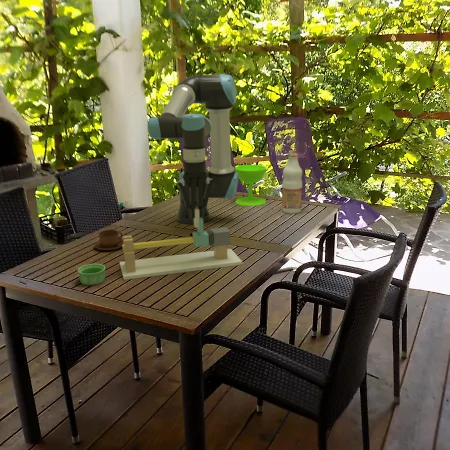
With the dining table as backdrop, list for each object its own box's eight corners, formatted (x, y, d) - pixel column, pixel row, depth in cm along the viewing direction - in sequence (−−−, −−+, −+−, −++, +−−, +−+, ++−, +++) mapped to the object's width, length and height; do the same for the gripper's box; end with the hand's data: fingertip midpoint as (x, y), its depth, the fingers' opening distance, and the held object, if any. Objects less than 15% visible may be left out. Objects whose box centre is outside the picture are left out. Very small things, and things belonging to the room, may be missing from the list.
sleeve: (192, 242, 184) (191, 216, 181) (205, 241, 186) (205, 214, 183) (195, 247, 180) (194, 220, 177) (209, 245, 181) (208, 218, 178)
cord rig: (119, 264, 184) (117, 232, 180) (230, 251, 195) (230, 221, 191) (123, 279, 171) (120, 245, 167) (242, 264, 182) (242, 232, 178)
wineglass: (250, 208, 253) (250, 172, 247) (228, 201, 264) (228, 167, 259) (272, 202, 263) (272, 167, 257) (250, 196, 274) (250, 163, 269)
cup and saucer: (107, 240, 210) (106, 226, 208) (131, 244, 205) (130, 230, 203) (88, 250, 199) (86, 235, 198) (112, 254, 194) (111, 239, 192)
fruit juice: (277, 210, 247) (278, 153, 238) (292, 207, 252) (293, 151, 244) (290, 215, 240) (292, 156, 231) (305, 211, 245) (307, 154, 236)
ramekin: (90, 273, 177) (88, 262, 175) (111, 277, 173) (110, 265, 172) (73, 283, 169) (71, 271, 167) (95, 287, 165) (94, 275, 164)
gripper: (177, 163, 168) (180, 231, 175) (215, 161, 171) (217, 227, 179) (173, 159, 175) (176, 225, 182) (210, 157, 178) (211, 221, 186)
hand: (196, 226), depth 180 cm, fingers closed
